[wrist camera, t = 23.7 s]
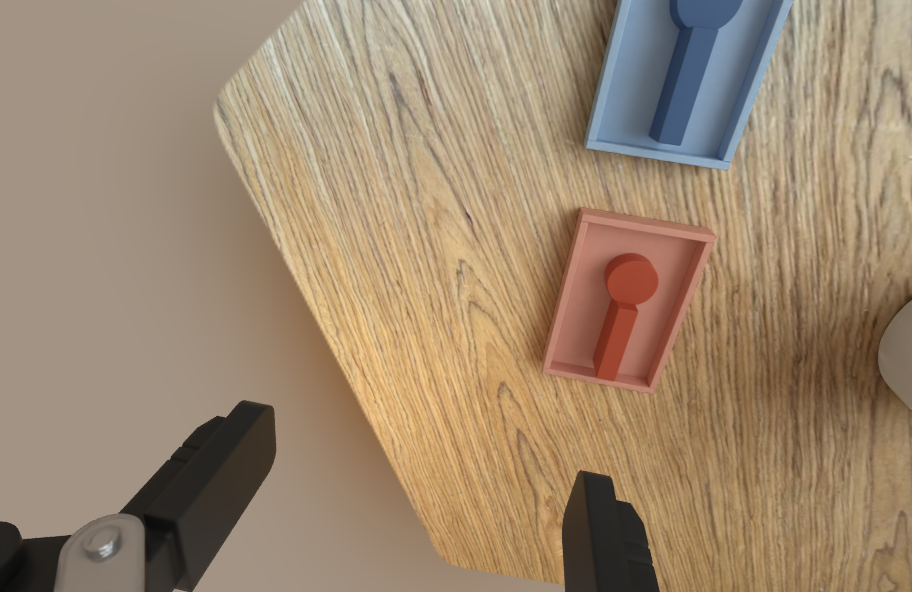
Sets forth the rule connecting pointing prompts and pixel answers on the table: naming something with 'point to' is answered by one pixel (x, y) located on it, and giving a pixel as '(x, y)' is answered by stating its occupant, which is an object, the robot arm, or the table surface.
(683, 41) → the spoon blue
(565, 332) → the tray pink
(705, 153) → the tray blue
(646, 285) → the spoon red
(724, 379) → the table surface
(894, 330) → the utensil holder
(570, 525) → the robot arm
